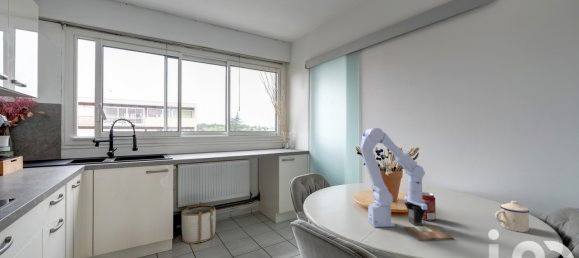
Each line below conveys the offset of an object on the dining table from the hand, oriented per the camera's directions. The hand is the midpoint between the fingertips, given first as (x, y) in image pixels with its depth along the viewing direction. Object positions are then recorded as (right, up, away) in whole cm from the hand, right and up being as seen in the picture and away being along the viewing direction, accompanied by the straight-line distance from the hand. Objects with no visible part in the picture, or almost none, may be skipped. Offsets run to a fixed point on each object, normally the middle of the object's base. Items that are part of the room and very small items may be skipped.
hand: (415, 220), depth 109 cm
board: (-1, -1, -11) cm, 11 cm away
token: (0, -1, 0) cm, 1 cm away
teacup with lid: (+38, -1, -6) cm, 39 cm away
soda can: (+9, -2, +6) cm, 10 cm away
